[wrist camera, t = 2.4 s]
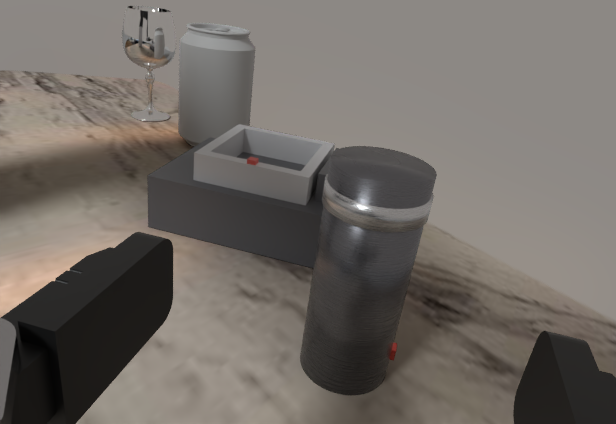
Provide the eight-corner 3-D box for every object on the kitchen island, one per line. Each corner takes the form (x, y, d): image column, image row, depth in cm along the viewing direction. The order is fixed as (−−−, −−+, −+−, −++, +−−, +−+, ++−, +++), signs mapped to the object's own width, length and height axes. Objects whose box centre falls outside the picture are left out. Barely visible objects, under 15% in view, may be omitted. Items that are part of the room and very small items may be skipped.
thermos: (287, 380, 24) (316, 170, 19) (310, 323, 28) (340, 138, 23) (384, 408, 23) (440, 197, 18) (393, 345, 27) (442, 159, 23)
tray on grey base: (148, 226, 35) (147, 143, 33) (208, 179, 44) (210, 111, 42) (336, 274, 33) (352, 188, 30) (360, 214, 42) (373, 144, 39)
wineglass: (184, 116, 61) (186, 12, 56) (155, 126, 56) (154, 13, 51) (146, 106, 62) (144, 4, 57) (114, 115, 57) (109, 5, 52)
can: (233, 129, 59) (240, 22, 53) (258, 151, 53) (269, 34, 48) (170, 131, 55) (170, 17, 50) (190, 155, 49) (193, 29, 44)
